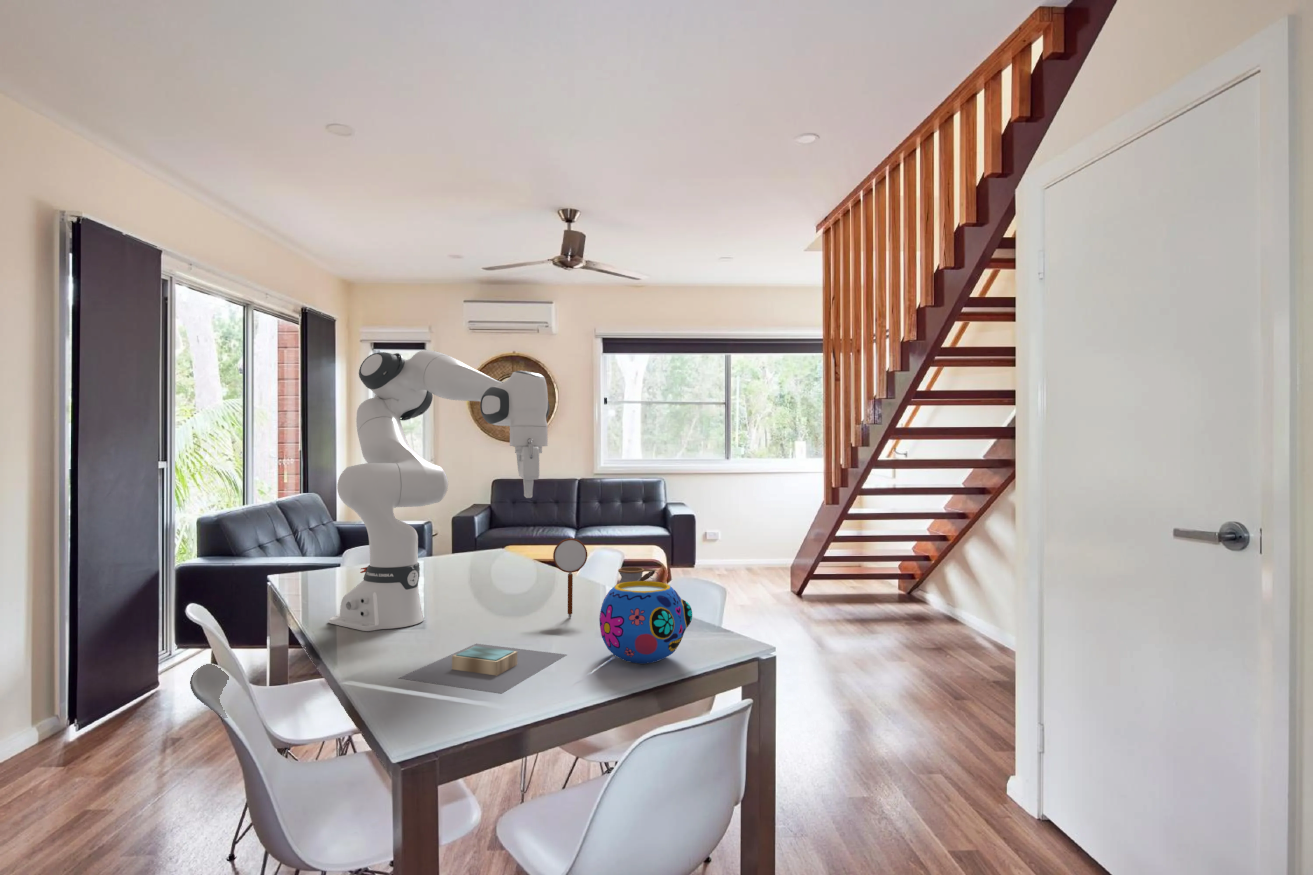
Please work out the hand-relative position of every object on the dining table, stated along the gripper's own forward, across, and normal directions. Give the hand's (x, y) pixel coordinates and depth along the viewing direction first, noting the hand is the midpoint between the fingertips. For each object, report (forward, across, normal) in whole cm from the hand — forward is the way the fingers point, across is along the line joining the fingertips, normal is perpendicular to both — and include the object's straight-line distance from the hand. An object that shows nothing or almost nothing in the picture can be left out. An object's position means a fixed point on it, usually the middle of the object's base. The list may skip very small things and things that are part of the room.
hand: (528, 497), depth 162 cm
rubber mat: (+31, -28, +9) cm, 43 cm away
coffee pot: (+31, -2, -26) cm, 41 cm away
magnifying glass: (+31, +9, -11) cm, 35 cm away
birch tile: (+29, -25, +8) cm, 39 cm away
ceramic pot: (+31, -29, -21) cm, 48 cm away
